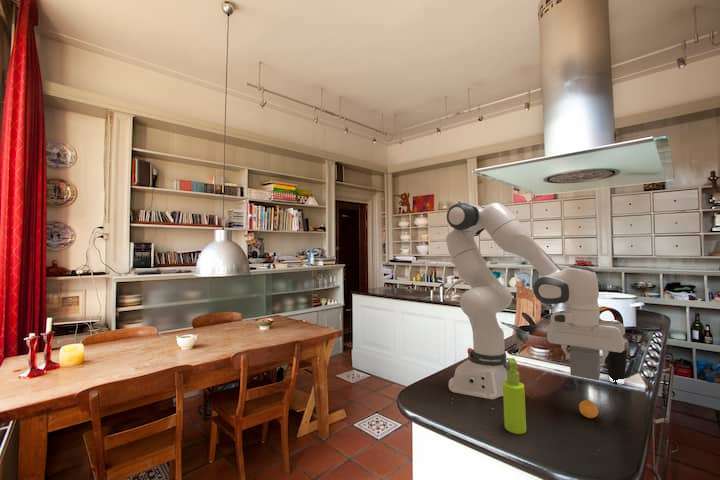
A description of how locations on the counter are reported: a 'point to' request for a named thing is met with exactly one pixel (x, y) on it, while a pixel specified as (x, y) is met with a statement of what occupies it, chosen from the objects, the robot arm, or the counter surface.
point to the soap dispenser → (514, 401)
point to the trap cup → (584, 362)
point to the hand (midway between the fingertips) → (584, 361)
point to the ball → (588, 409)
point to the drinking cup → (616, 364)
